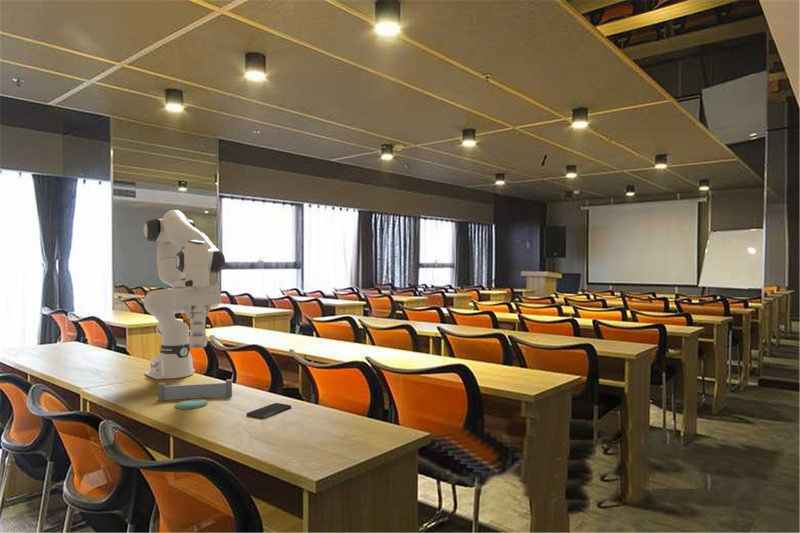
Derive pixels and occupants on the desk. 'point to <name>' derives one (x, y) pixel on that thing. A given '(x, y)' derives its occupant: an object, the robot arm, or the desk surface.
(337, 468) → the desk surface
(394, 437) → the desk surface
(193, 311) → the plastic bottle
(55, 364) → the desk surface
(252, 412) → the phone
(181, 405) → the mat
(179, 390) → the low wall
